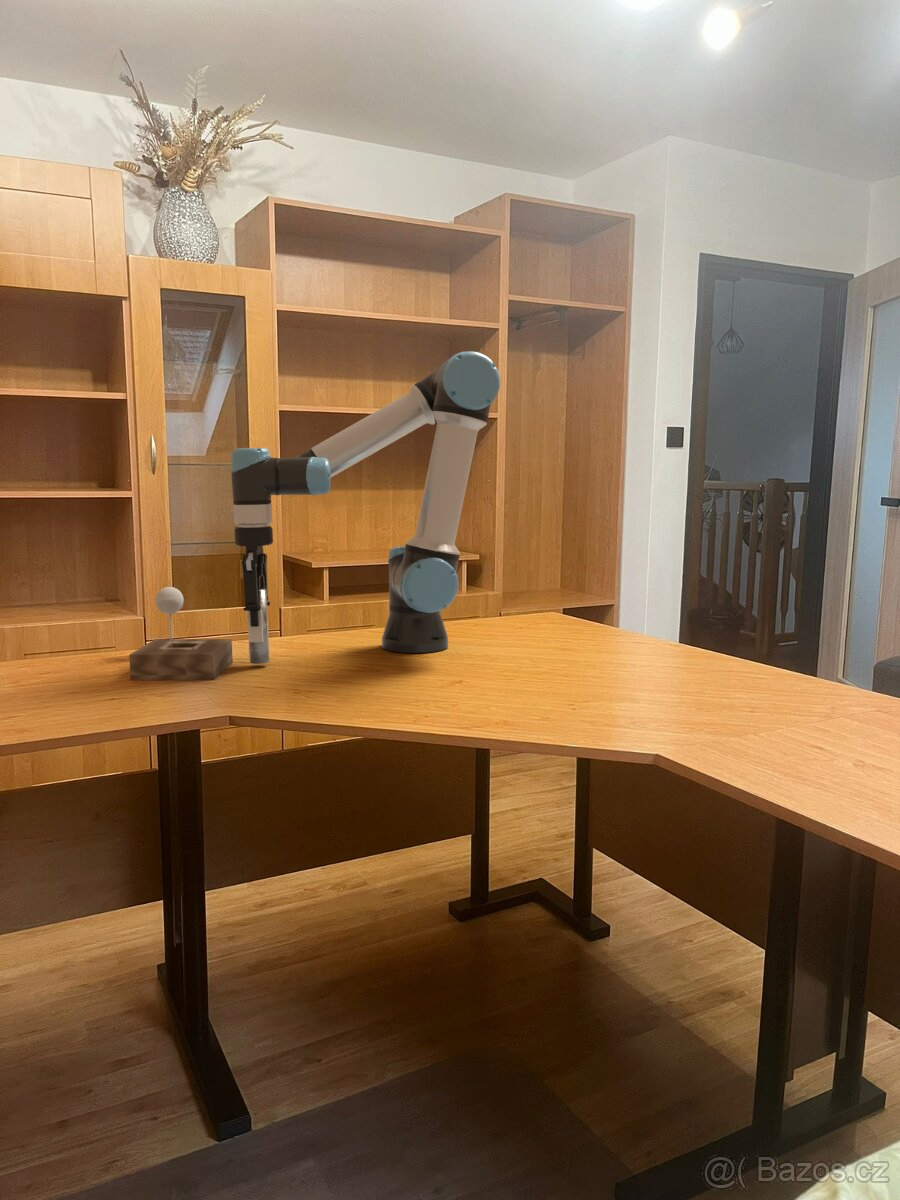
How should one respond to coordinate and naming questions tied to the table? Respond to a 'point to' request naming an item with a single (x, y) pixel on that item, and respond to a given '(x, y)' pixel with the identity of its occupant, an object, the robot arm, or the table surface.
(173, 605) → the lollipop
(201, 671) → the bore block
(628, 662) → the table surface
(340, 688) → the table surface
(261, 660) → the pin
